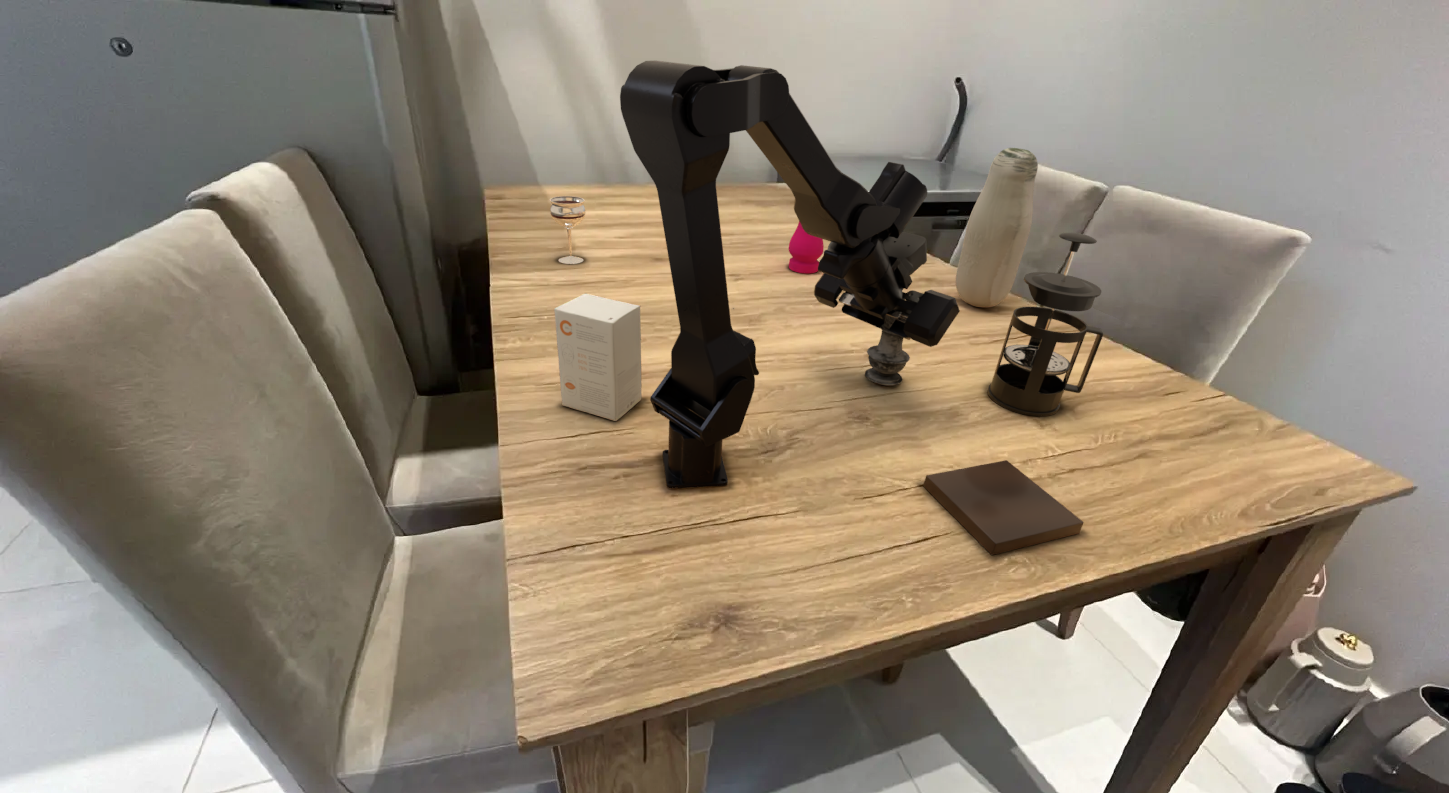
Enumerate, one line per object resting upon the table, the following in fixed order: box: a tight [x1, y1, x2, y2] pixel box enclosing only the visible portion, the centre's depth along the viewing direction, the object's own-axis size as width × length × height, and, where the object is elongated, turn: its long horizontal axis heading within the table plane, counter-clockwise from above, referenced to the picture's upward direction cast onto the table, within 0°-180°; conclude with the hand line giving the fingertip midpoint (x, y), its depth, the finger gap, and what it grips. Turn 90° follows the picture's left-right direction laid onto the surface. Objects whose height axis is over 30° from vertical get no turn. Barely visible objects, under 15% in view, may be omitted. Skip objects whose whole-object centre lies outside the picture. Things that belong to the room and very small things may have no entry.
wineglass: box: [549, 195, 586, 265], centre depth 125 cm, size 7×7×12 cm
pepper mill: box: [788, 220, 825, 274], centre depth 127 cm, size 7×7×20 cm
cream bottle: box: [955, 147, 1039, 308], centre depth 113 cm, size 10×10×28 cm
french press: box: [986, 232, 1104, 417], centre depth 82 cm, size 12×9×23 cm
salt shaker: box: [864, 315, 911, 386], centre depth 86 cm, size 6×6×12 cm
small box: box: [553, 293, 643, 422], centre depth 76 cm, size 8×6×13 cm
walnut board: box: [923, 459, 1085, 556], centre depth 65 cm, size 11×11×2 cm
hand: (898, 332), depth 87 cm, fingers closed on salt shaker, 3 cm apart
